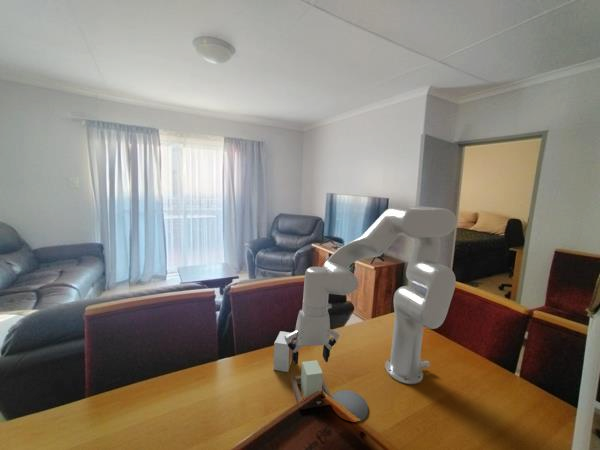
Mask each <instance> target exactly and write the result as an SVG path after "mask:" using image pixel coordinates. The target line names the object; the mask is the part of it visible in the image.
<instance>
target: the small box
mask: <svg viewBox="0 0 600 450" xmlns="http://www.w3.org/2000/svg"><path fill="white" fill-rule="evenodd" d="M290 333H291V332H289V331H288V332H287V331H281V330H280V331H279V333H278V335H277V337H276V339H275V341H274V343H273V369H272V370H274V371H280V372H284V373H285V372H286V373H289V372H290V371H289V370H290V369H291V365H292V362H293V360H292V350H291V349H290V348H289V347H288V345H287V343H286V341H285V338H284V337H285V336H286V335H288V334H290ZM294 340H295V338H293V339H291V340H290V341H291V342H292V343H294V342H295V341H294Z"/></svg>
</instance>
